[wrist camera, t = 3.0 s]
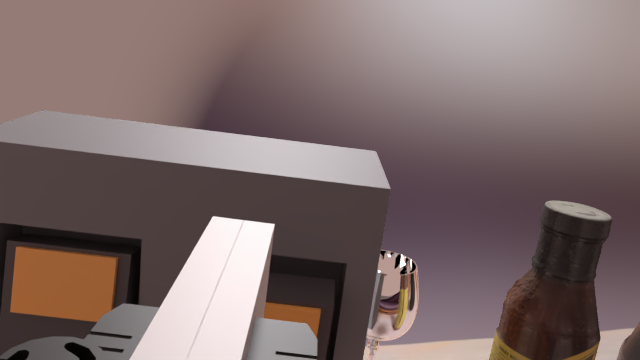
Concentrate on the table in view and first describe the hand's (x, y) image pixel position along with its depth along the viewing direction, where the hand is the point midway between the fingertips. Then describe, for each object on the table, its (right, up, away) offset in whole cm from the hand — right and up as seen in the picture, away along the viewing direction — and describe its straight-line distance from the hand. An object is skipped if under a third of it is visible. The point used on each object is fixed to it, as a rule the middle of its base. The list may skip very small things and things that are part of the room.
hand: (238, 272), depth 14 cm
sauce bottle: (+16, -19, +27) cm, 36 cm away
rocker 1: (-11, -11, +15) cm, 22 cm away
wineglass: (+6, -16, +33) cm, 37 cm away
